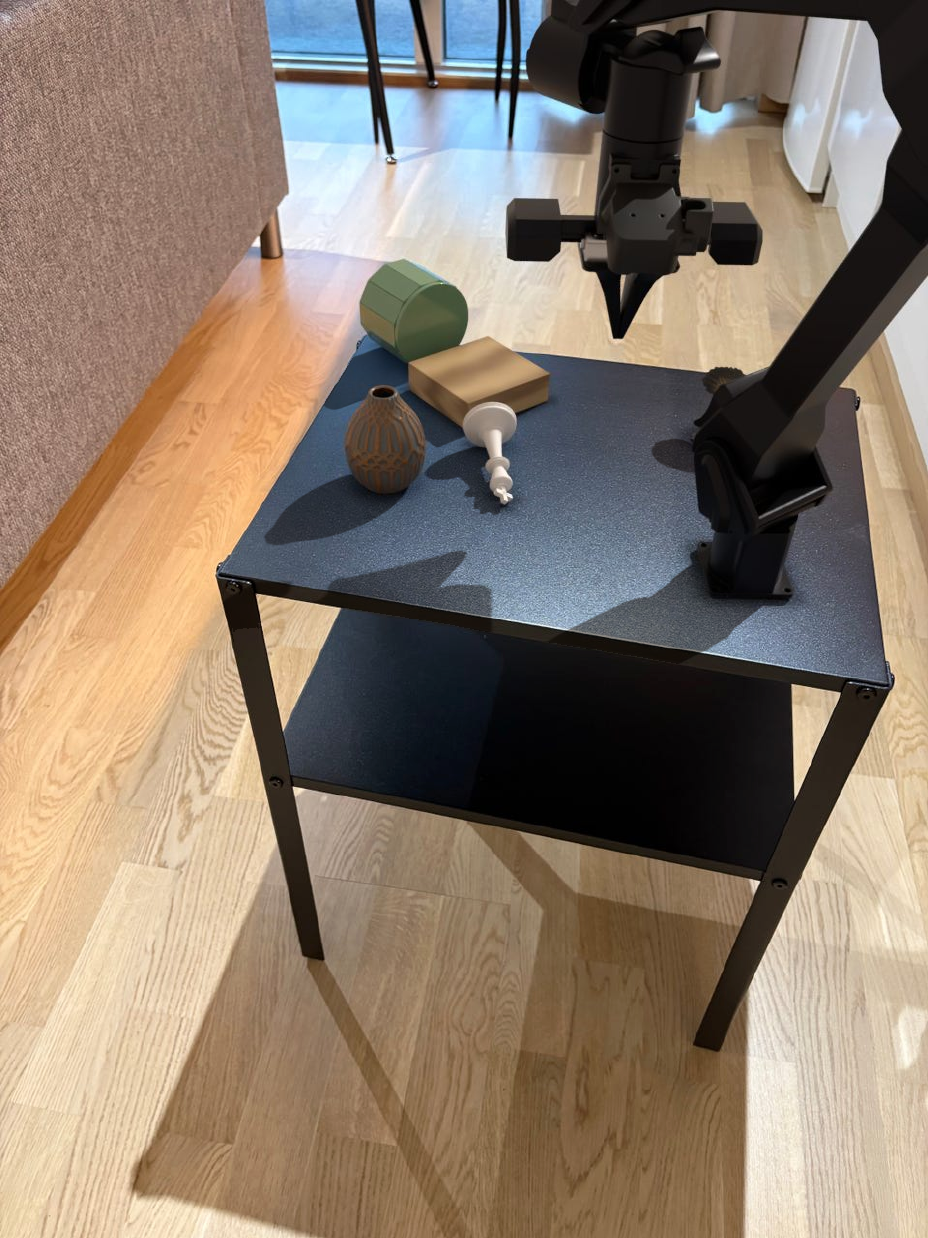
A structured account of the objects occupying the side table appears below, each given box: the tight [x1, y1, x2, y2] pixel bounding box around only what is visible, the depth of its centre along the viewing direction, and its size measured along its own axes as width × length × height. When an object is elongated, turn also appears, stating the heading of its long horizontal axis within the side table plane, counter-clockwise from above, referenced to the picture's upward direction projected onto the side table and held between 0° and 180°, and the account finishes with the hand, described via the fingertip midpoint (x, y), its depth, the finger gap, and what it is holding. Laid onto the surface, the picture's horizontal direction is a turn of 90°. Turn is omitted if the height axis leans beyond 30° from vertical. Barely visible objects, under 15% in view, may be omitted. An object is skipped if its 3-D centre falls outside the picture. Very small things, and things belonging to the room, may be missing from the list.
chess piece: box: [462, 402, 517, 505], centre depth 88 cm, size 5×5×10 cm
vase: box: [344, 384, 427, 495], centre depth 85 cm, size 7×7×9 cm
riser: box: [407, 335, 551, 429], centre depth 99 cm, size 10×10×3 cm
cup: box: [358, 258, 469, 364], centre depth 103 cm, size 9×9×7 cm
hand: (617, 336), depth 81 cm, fingers closed
